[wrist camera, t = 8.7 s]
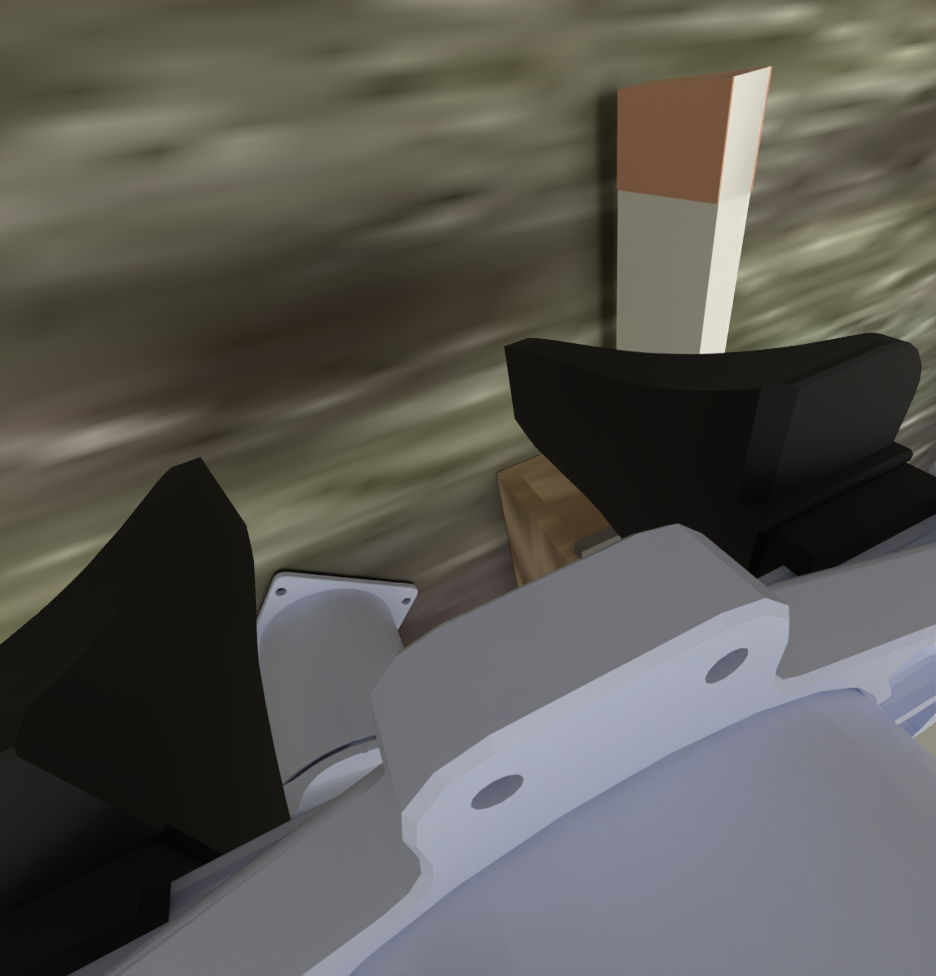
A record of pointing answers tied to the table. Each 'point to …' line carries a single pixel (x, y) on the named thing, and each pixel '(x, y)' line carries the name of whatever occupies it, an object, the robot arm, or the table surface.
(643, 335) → the ticket
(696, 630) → the robot arm
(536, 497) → the ticket box
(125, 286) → the table surface
